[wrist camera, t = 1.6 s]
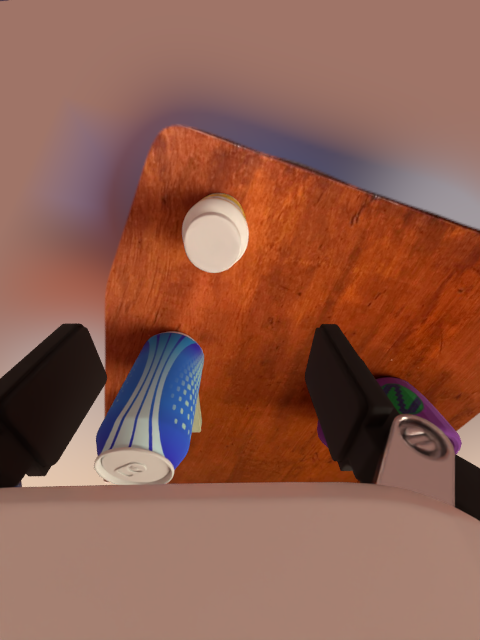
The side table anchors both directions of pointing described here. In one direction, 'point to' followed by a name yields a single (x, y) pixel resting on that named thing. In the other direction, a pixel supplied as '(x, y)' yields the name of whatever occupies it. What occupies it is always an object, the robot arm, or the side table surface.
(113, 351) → the side table surface
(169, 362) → the beer can
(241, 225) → the supplement bottle
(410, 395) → the mug
